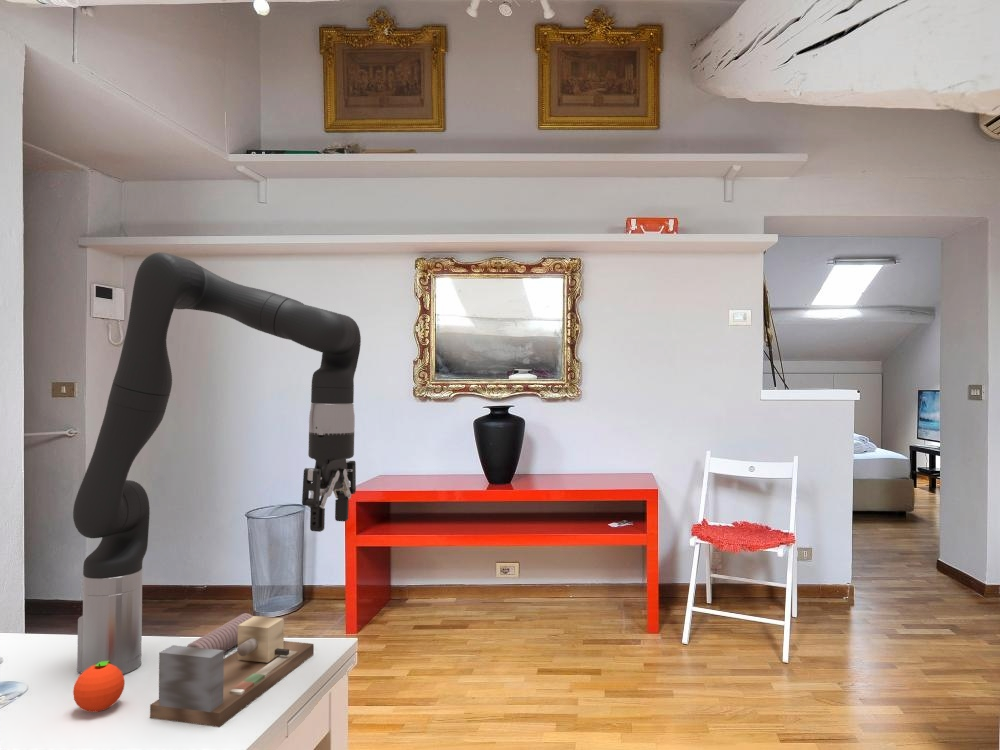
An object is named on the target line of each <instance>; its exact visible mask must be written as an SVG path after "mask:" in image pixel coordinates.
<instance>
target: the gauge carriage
mask: <svg viewBox="0 0 1000 750" xmlns="http://www.w3.org/2000/svg"><path fill="white" fill-rule="evenodd" d="M284 627H285V621H284V618H282V617H271V616H270V617H268V616H260V615H258V616H257V615H253V617H252V618H250V619H248V620H246V621H245V622H243V623H241V624H239V625H238V644H237V650H236V651H238V660H247V661H257V662H266V663H268V662H270V661H271V660H273V659H274V658H275V657H277V656H278V655H284V656H287V655H289V649H284V641H285V640H284V637H285V635H284V634H285V633H284V630H285V628H284Z"/></svg>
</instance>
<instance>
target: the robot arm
mask: <svg viewBox="0 0 1000 750" xmlns="http://www.w3.org/2000/svg"><path fill="white" fill-rule="evenodd" d="M174 310H191V311H200V312H208V313H213V314H218V315H221V316H225V317H227V318H230V319H232V320H235V321H237V322H238V323H241V324H243V325H245V326H247V327H249V328H252V329H254V330H256V331H259V332H262V333H264V334H265V333H266V334H269V335H271V336H275V337H277V338H280V339H285V340H288V341H292V342H294V343H296V344H298V345H301V346H303V347H305V348H307V349H311V350H313V351H316V352H320V353H322V354H321V361H320V367H319V368H318V369H316V370H315V371H314V372H313V374H312V376H311V389H310V390H311V391H310V392H311V393H310V396H311V397H310V411H309V418H308V451H307V452H308V453H307V454H308V455H307V456H308V457H309V458H310V459H312V460H315V465H314V468H312V467H309V468H307V467H305V468H304V469H303V477H302V494H301V495H302V497H301V498H302V499H301V505H302V506H304V507H308V508H310V509H309V510H310V513H309V514H310V518H309V520H310V521H309V529H310V531H311V532H320V533H321V532H322V531H324V530H325V524H326V523H325V521H326V520H325V518H326V516H325V515H326V514H325V513H326V508H325V505H326V503H327V500H328V498H330V497H331V496H332V493H333V494H334V496H335V500H334V501H335V502H334V503H335V505H334V520H335V521H336V522H347V521H348V520H349V510H350V508H349V507H350V506H349V504H350V503H349V502H350V499H351V497H352V495H355V494H356V492H357V489H356V488H357V484H356V483H357V481H356V480H357V479H356V476H357V472H356V469H357V467H356V466H357V464H356V461H355V460H350V459H352V458H354V455H355V424H356V423H355V421H356V420H355V417H356V416H355V408H354V406H355V405H354V403H355V401H354V397H355V395H354V394H355V385H354V380H355V374H356V371H357V367H358V366H357V365H358V362H359V356H360V351H361V345H362V344H361V342H362V341H361V339H362V338H361V331H360V327H359V325H358V324H357V321H355V320H354V319H353V318H352V317H351V316H349V315H345V314H341V313H338V312H335V311H330V310H327V309H323V308H319V307H316V306H312V305H307V304H304V303H303V302H301V301H300V300H299V301H298V300H297V299H294V298H291V297H289V296H285V295H281V294H277V293H275V292H271V291H267V290H264V289H259V288H255V287H251V286H248V285H247V286H246V285H243V284H239V283H236V282H234V281H231V280H229V279H227V278H225V277H222V276H220V275H218V274H216V273H215V272H212V271H210V270H208V269H207V268H204V267H203V266H201V265H199V264H197V263H196V262H195V261H193V260H191V259H187V258H183V257H181V256H176V255H174V254H170V253H166V252H154V253H151V254H150V255H148V256H146V257H145V258H144V259H143V260H142V261H141V263H140V265H139V266H138V268H137V271H136V275H135V278H134V284H133V289H132V295H131V301H130V309H129V315H128V322H127V326H126V327H127V328H126V332H125V337H124V340H123V344H122V349H121V353H120V356H119V361H118V364H117V368H116V371H115V375H114V376H113V380H112V384H111V388H110V392H109V396H108V399H107V403H106V407H105V413H104V417H103V421H102V423H101V427H100V430H99V433H98V436H97V441H96V442H95V445H94V450H93V452H92V456H91V459H90V462H89V463H88V465H87V469H86V471H85V474H84V475H83V479H82V481H81V484H80V486H79V488H78V491H77V494H76V497H75V499H74V503H73V511H72V518H73V524H74V526H75V528H76V530H77V532H79V534H80V535H81V536H82V537H85V538H88V539H101V541H100V542H99V544H98V545H97V547H96V548H95V549H94V550H93V551H92V552H91V553H90V554H89V555H88V556H87V557H86V558H85V559H84V562H83V566H82V567H83V568H82V571H83V575H82V615H81V616H79V617H78V619H77V663H76V665H77V666H76V667H77V668H76V672H77V673H80V674H82V673H83V672H84V671H85V670H86V669H88V668H89V667H91V666H93V665H96V664H98V663H99V662H102V661H110V663H111V664H112V665H114V666H116V667H117V668H119V669H120V670H121V672H122V674H123V675H125V674H128V673H130V672H132V671H134V670H135V669H138V668H139V667H140V666H141V665H142V637H143V636H142V635H143V634H142V633H143V630H142V629H143V628H142V627H143V626H142V625H143V621H142V620H143V561H144V558H145V556H146V554H147V551H148V543H149V527H150V513H151V511H150V500H149V495H148V493H147V491H146V489H145V487H144V486H143V485H141V483H139V482H137V481H134V480H127V478H128V475H129V472H130V469H131V467H132V465H133V462H134V461H135V459H136V458H137V456H138V455H139V454H140V452H141V451H142V449H143V448H144V447H145V445H146V444H147V443H148V442H149V441H150V439H151V438H152V437H153V435H154V434H155V432H156V431H157V429H158V428H159V426H160V424H161V423H162V421H163V418H164V416H165V413H166V409H167V408H168V407H167V406H168V403H169V399H170V396H171V392H172V388H173V387H172V385H173V375H172V374H173V373H172V368H171V367H172V366H171V362H170V358H169V353H168V346H167V338H168V330H169V326H170V322H171V318H172V315H173V312H174Z"/></svg>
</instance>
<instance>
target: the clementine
mask: <svg viewBox="0 0 1000 750" xmlns="http://www.w3.org/2000/svg"><path fill="white" fill-rule="evenodd" d="M124 689H125V676H124V674H122V672H121V670H120V669H119V668H117V667H116V666H114V665H112V664H111V663H110V661H102V662H99V663H98V664H96V665H93V666H91V667H89V668H88V669H86V670H85V671H84V672H83V673H80V675H79V676H78V677H77V679H76V681H75V682H74V686H73V691H72V694H73V695H72V696H73V700H74V702H75V704H76V705H77V706H78V707H79V708H80V709H81V710H84V711H85V712H89V713H95V712H97V713H98V712H102V711H104V710H107V709H109V708H111V707H112V706H113V705H115V704H116V702H117V701H118V700H119V699H120V698H121V696H122V694H123V692H124Z"/></svg>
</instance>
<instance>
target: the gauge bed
mask: <svg viewBox="0 0 1000 750" xmlns="http://www.w3.org/2000/svg"><path fill="white" fill-rule="evenodd" d="M314 644H315V643H309V642H299V641H288V640H284V649H289V655H287V656H284V655H278V656H277V657H275V658H274V659H273V660H271V661H270V662H268V663H266V662H257V661H247V660H238V651H237V650H236V651H234V652H233V653H231V654H229V655H228V656H227V657H224V654H225V652H224V650H216V649H206V648H196V647H187V645H186V646H184V645H183V646H182V645H175V644H173V645H171V646H169V647H167V648H165V649H164V650H161V651H159V653H158V664H159V665H158V699H157V700H155V701H154V702H152V703H151V704H149V705H150V706H149V707H150V708H149V718H150V719H154V720H162V721H163V720H164V721H170V722H178V723H184V724H185V723H187V724H192V725H193V724H194V725H203V726H208V727H209V726H210V727H217V728H220V727H221V726H223V725H224V724H225V723H227V722H228V721H230V719H232V718H233V717H235V715H237V714H238V713H239V712H241V711H242V710H243V709H245V708H246V707H247V706H248V705H250V704H251V703H252V702H254V701H255V700H257V698H260V696H261V695H263V694H264V693H266V692H267V691H268V690H270V689H271V688H272V687H273V686H274V685H276V684H277V683H278V682H280V681H281V680H282V679H284V678H285V677H286V676H287V675H289V674H290V673H292V671H294V670H296V669H297V668H298V667H299V666H300V665H302V664H303V663H304V662H306V661H307V660H308V659H310V658H311V657H312V656H313V655H314V653H315V652H314V651H315V649H314Z"/></svg>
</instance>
